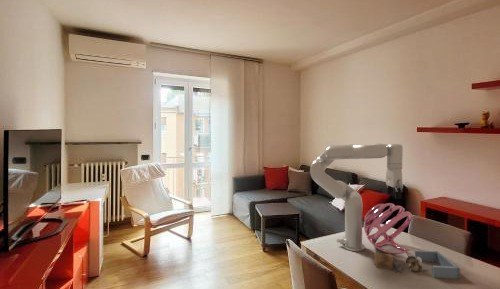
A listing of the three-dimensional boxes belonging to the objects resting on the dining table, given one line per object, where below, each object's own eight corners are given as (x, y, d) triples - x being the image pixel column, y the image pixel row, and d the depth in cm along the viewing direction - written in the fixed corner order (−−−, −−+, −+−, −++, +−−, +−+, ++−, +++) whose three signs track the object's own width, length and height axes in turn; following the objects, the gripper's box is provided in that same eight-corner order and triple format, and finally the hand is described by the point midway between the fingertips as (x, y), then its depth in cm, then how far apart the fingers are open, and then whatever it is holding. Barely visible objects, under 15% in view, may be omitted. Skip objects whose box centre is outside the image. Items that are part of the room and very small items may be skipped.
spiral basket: (439, 223, 139) (397, 187, 157) (402, 245, 129) (361, 204, 148) (416, 250, 157) (381, 215, 176) (382, 271, 147) (348, 231, 166)
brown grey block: (379, 271, 129) (379, 259, 129) (371, 260, 140) (371, 249, 140) (401, 272, 128) (401, 260, 128) (391, 261, 139) (391, 250, 139)
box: (433, 277, 123) (433, 267, 123) (414, 259, 141) (414, 250, 140) (459, 278, 122) (459, 268, 122) (437, 260, 139) (437, 251, 139)
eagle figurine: (402, 259, 138) (401, 264, 131) (410, 249, 137) (410, 253, 129) (416, 271, 134) (416, 276, 127) (425, 261, 133) (426, 265, 125)
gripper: (380, 164, 156) (380, 192, 157) (395, 168, 139) (394, 200, 139) (394, 164, 155) (393, 193, 156) (409, 168, 138) (409, 200, 139)
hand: (394, 196), depth 148 cm, fingers open, 9 cm apart
